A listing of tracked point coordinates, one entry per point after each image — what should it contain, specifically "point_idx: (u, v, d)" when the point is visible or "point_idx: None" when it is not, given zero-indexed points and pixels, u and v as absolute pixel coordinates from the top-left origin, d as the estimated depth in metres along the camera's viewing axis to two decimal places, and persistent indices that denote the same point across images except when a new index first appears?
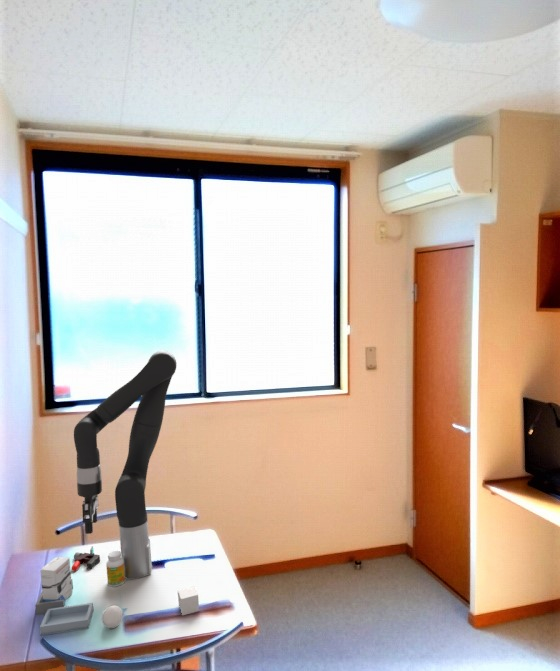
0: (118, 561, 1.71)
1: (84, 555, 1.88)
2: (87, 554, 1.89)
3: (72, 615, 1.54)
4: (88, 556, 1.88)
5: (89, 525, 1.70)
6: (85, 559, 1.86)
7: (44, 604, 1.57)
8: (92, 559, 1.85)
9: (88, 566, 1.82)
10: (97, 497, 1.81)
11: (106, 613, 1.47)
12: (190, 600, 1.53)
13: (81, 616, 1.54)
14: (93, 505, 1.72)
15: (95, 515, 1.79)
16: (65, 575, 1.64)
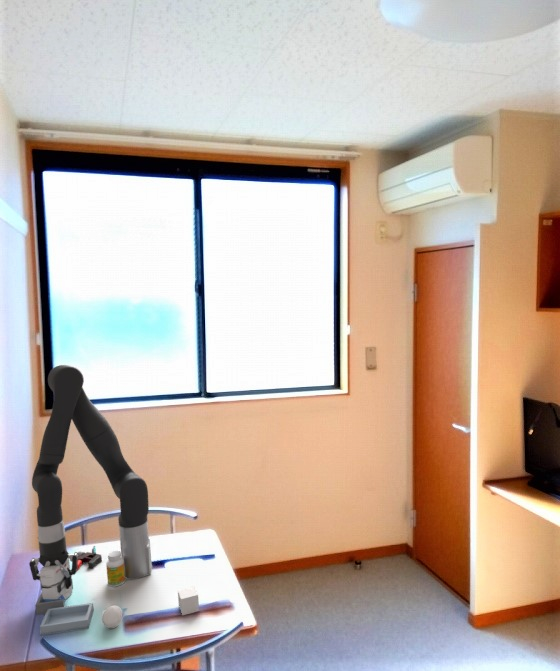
0: (118, 561, 1.71)
1: (86, 554, 1.89)
2: (89, 553, 1.89)
3: (72, 615, 1.54)
4: (90, 555, 1.89)
5: (71, 577, 1.65)
6: (87, 558, 1.87)
7: (44, 604, 1.57)
8: (94, 558, 1.86)
9: (89, 565, 1.83)
10: None
11: (106, 613, 1.47)
12: (190, 600, 1.53)
13: (81, 616, 1.54)
14: None
15: None
16: None
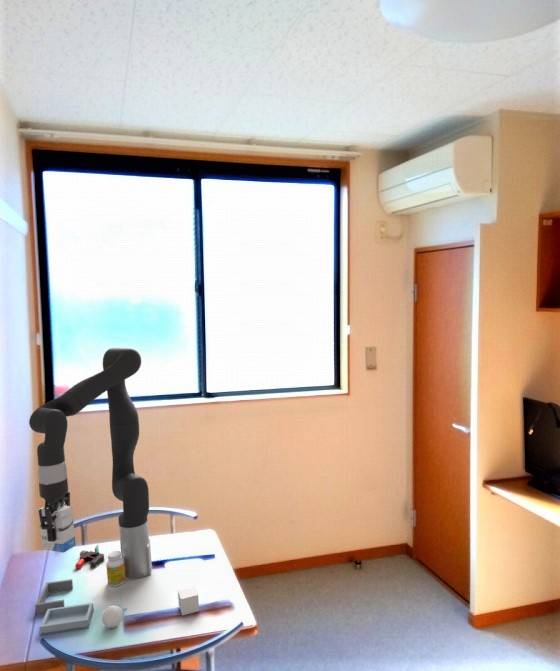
0: (118, 561, 1.71)
1: (89, 553, 1.89)
2: (92, 552, 1.90)
3: (72, 615, 1.54)
4: (93, 555, 1.89)
5: None
6: (89, 557, 1.87)
7: (44, 604, 1.57)
8: (96, 557, 1.86)
9: (91, 565, 1.83)
10: None
11: (106, 613, 1.47)
12: (190, 600, 1.53)
13: (81, 616, 1.54)
14: None
15: None
16: None
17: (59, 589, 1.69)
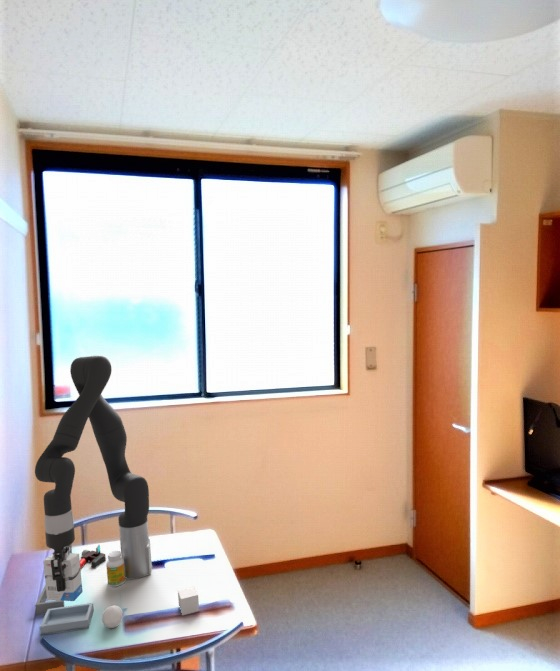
0: (118, 561, 1.71)
1: (91, 553, 1.90)
2: (94, 552, 1.90)
3: (72, 615, 1.54)
4: (94, 554, 1.89)
5: None
6: (91, 557, 1.87)
7: (44, 604, 1.57)
8: (97, 557, 1.86)
9: (92, 564, 1.83)
10: (52, 569, 1.45)
11: (106, 613, 1.47)
12: (190, 600, 1.53)
13: (81, 616, 1.54)
14: None
15: None
16: None
17: None
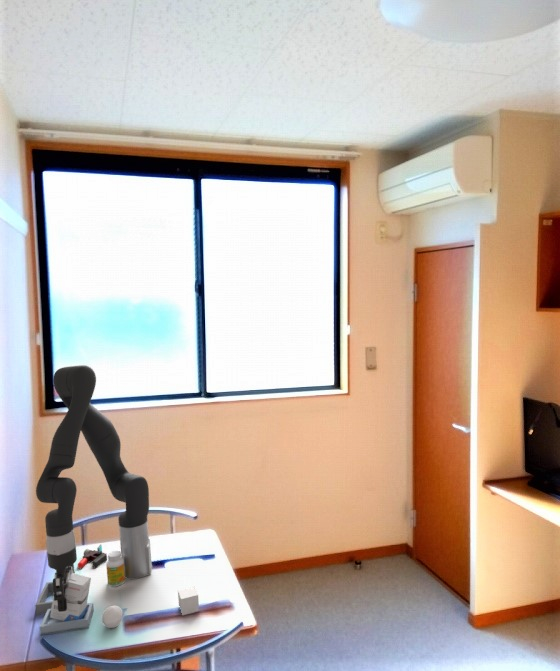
0: (118, 561, 1.71)
1: (92, 552, 1.90)
2: (95, 552, 1.90)
3: None
4: (96, 554, 1.90)
5: None
6: (92, 557, 1.88)
7: (44, 604, 1.57)
8: (98, 557, 1.86)
9: (93, 564, 1.83)
10: None
11: (106, 613, 1.47)
12: (190, 600, 1.53)
13: None
14: None
15: None
16: None
17: None
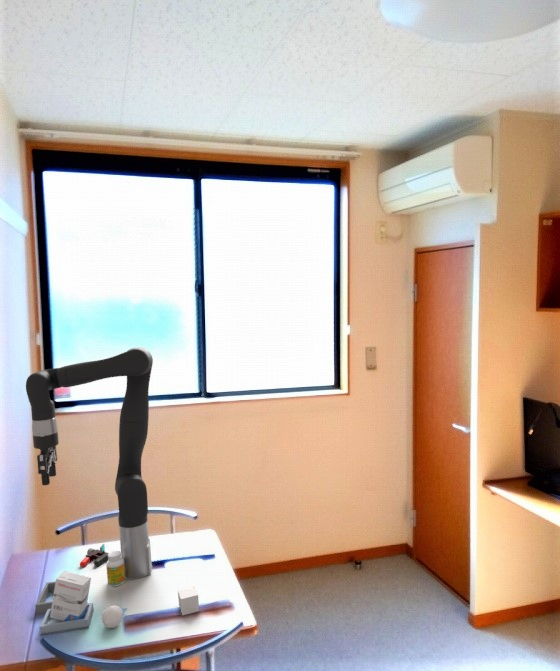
0: (118, 561, 1.71)
1: (95, 552, 1.90)
2: (98, 551, 1.91)
3: None
4: (99, 553, 1.90)
5: None
6: (95, 556, 1.88)
7: (44, 604, 1.57)
8: (101, 556, 1.87)
9: (95, 563, 1.84)
10: (38, 464, 1.69)
11: (106, 613, 1.47)
12: (190, 600, 1.53)
13: None
14: None
15: None
16: None
17: None
